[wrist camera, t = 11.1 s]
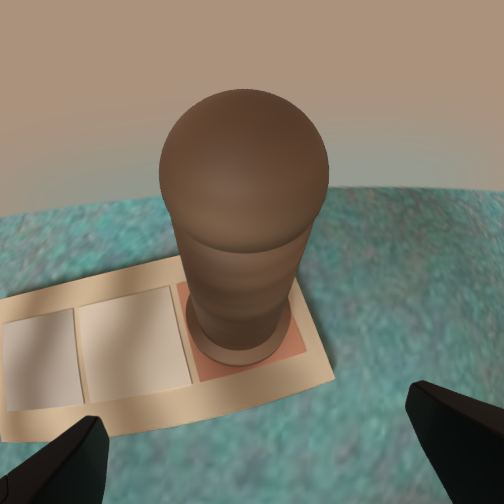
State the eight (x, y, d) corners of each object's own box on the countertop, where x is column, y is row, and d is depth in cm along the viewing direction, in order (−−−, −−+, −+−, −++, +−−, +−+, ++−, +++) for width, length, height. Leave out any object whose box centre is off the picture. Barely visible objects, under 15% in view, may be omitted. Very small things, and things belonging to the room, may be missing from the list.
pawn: (307, 318, 18) (405, 118, 7) (238, 387, 16) (249, 247, 5) (238, 258, 20) (247, 43, 9) (168, 316, 18) (85, 109, 7)
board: (275, 240, 22) (277, 231, 21) (330, 381, 17) (336, 378, 16) (1, 306, 18) (-7, 300, 17) (10, 442, 13) (1, 441, 12)
